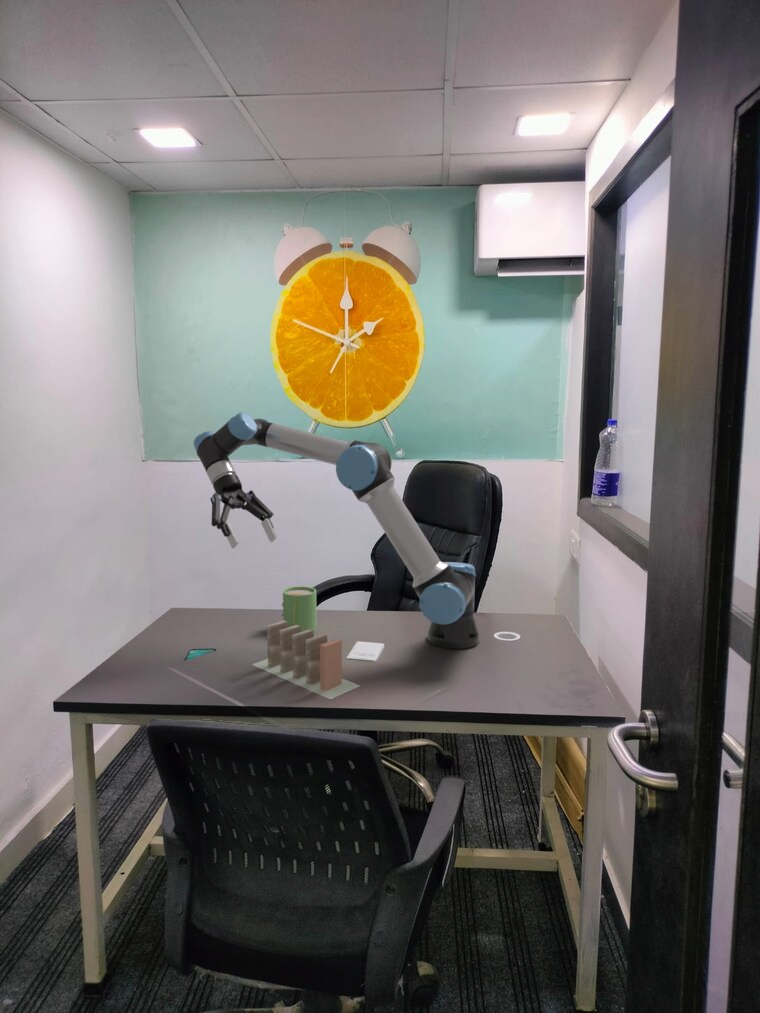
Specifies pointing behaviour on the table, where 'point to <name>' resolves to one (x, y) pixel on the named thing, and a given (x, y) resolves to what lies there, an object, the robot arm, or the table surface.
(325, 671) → the domino
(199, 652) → the smartphone
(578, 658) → the table surface
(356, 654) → the external hard drive
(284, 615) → the mug
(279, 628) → the domino
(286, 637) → the domino
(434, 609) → the robot arm
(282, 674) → the board
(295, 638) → the domino
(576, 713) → the table surface
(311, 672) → the domino
